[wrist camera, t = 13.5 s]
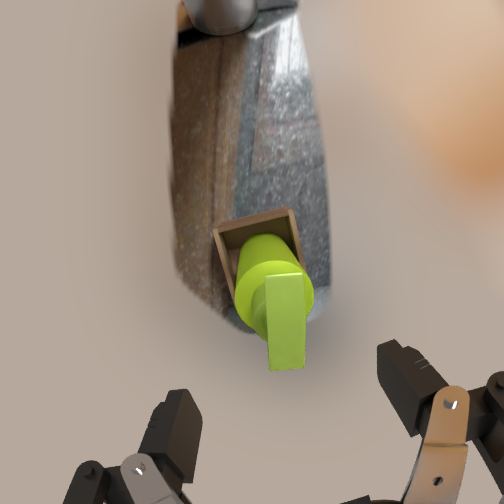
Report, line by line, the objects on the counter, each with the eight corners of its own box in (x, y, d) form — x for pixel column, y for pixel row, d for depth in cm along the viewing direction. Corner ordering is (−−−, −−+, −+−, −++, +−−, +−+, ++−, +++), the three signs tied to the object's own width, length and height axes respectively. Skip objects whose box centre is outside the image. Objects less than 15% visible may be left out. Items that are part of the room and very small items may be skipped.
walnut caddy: (217, 223, 33) (212, 229, 28) (286, 206, 32) (292, 209, 27) (237, 295, 35) (236, 311, 30) (302, 279, 34) (310, 293, 30)
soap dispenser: (287, 221, 32) (346, 271, 12) (290, 278, 33) (338, 385, 14) (236, 225, 32) (219, 282, 12) (241, 281, 33) (235, 396, 14)
